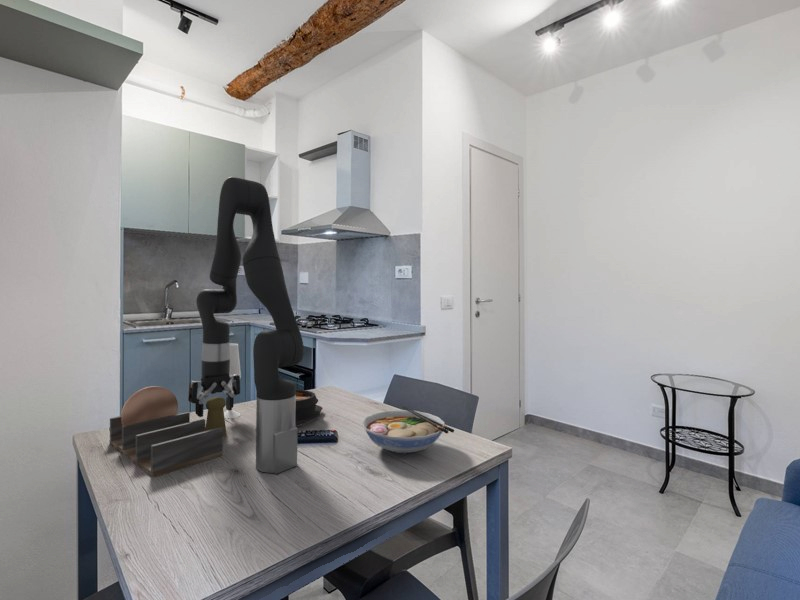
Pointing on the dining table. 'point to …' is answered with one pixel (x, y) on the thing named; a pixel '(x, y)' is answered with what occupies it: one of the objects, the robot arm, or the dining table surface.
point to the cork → (215, 414)
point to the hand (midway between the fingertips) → (215, 412)
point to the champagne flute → (233, 370)
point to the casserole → (306, 407)
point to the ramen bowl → (404, 430)
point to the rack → (162, 433)
